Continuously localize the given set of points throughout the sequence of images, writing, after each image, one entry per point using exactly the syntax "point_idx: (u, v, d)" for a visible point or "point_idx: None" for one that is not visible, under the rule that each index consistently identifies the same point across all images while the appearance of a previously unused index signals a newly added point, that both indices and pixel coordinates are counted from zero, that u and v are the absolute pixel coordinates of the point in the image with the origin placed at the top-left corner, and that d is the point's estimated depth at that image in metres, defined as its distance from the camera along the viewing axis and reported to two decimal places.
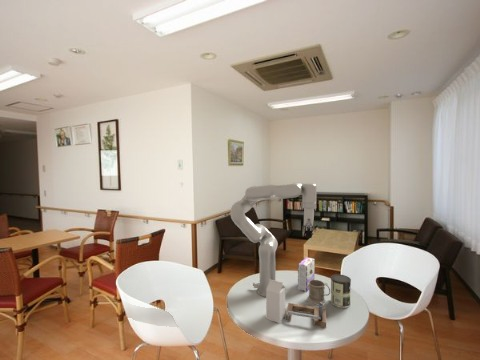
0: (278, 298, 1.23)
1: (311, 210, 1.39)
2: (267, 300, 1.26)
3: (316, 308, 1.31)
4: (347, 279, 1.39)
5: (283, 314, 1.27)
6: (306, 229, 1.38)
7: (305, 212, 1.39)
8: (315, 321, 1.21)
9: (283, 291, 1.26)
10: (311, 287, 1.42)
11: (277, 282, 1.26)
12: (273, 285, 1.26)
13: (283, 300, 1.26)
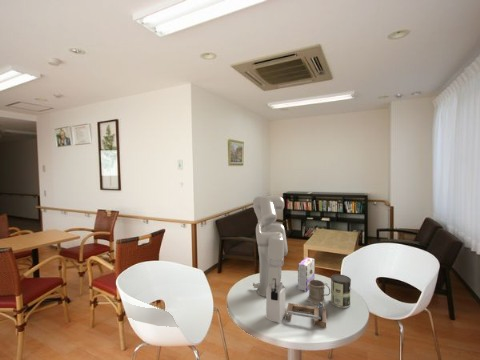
0: (278, 298, 1.23)
1: (277, 269, 1.22)
2: (267, 300, 1.26)
3: (316, 308, 1.31)
4: (347, 279, 1.39)
5: (283, 314, 1.27)
6: (271, 291, 1.22)
7: (270, 270, 1.23)
8: (315, 321, 1.21)
9: (283, 291, 1.26)
10: (311, 287, 1.42)
11: None
12: None
13: (283, 300, 1.26)
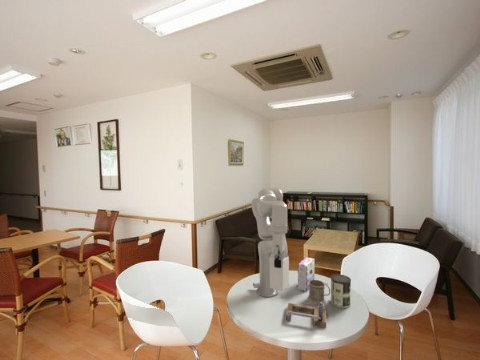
0: (281, 266, 1.20)
1: (280, 235, 1.19)
2: (271, 269, 1.23)
3: (316, 308, 1.31)
4: (347, 279, 1.39)
5: (287, 283, 1.24)
6: (274, 258, 1.19)
7: (273, 237, 1.20)
8: (315, 321, 1.21)
9: (287, 260, 1.24)
10: (311, 287, 1.42)
11: None
12: None
13: (286, 269, 1.24)
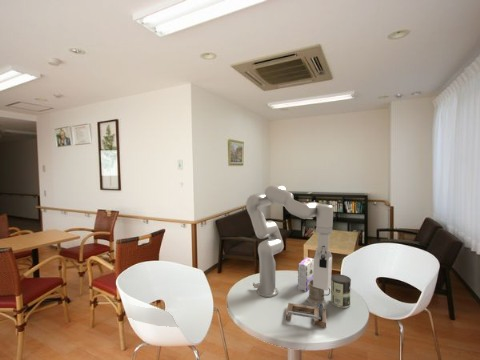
0: (327, 266, 1.22)
1: (326, 236, 1.21)
2: (315, 268, 1.26)
3: (316, 308, 1.31)
4: (347, 279, 1.39)
5: (330, 282, 1.27)
6: (320, 258, 1.22)
7: (319, 238, 1.22)
8: (315, 321, 1.21)
9: (331, 259, 1.26)
10: (311, 287, 1.42)
11: None
12: None
13: (330, 268, 1.26)
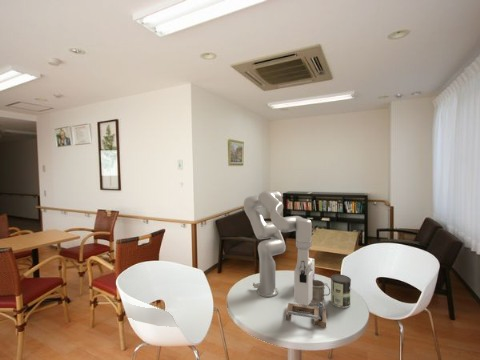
0: (307, 280, 1.22)
1: (305, 251, 1.22)
2: (295, 283, 1.25)
3: (316, 308, 1.31)
4: (347, 279, 1.39)
5: (311, 297, 1.27)
6: (300, 273, 1.22)
7: (299, 253, 1.22)
8: (315, 321, 1.21)
9: (311, 274, 1.26)
10: None
11: None
12: None
13: (311, 283, 1.26)
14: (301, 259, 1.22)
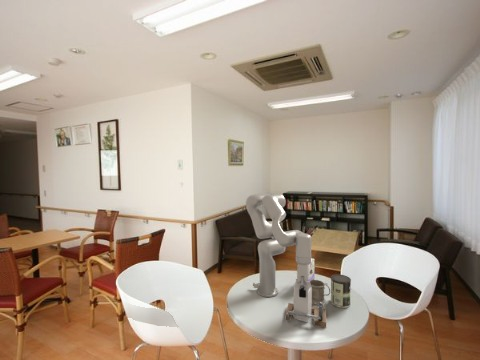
0: (306, 297, 1.23)
1: (305, 266, 1.22)
2: (295, 300, 1.26)
3: (316, 308, 1.31)
4: (347, 279, 1.39)
5: (310, 313, 1.28)
6: None
7: (298, 268, 1.23)
8: (315, 321, 1.21)
9: (310, 290, 1.27)
10: None
11: None
12: None
13: (310, 299, 1.27)
14: (301, 274, 1.22)
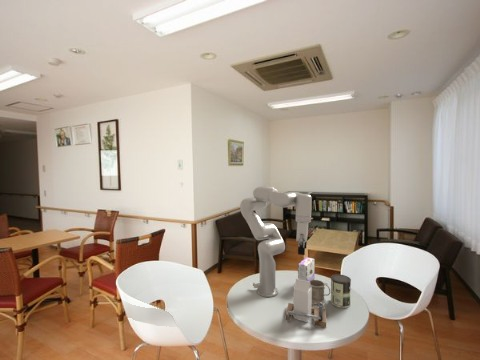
0: (306, 297, 1.23)
1: (305, 224, 1.25)
2: (295, 300, 1.26)
3: (316, 308, 1.31)
4: (347, 279, 1.39)
5: (310, 313, 1.28)
6: None
7: (298, 226, 1.25)
8: (315, 321, 1.21)
9: (310, 290, 1.27)
10: None
11: (304, 281, 1.27)
12: (300, 284, 1.27)
13: (310, 299, 1.27)
14: (300, 232, 1.25)
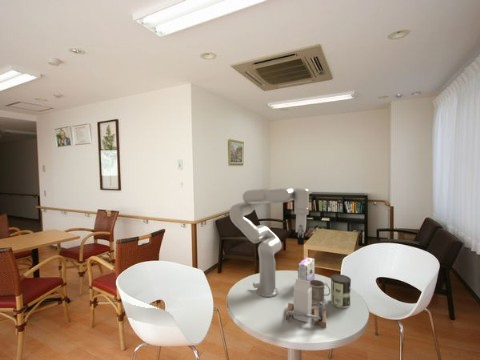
0: (306, 297, 1.23)
1: (303, 216, 1.34)
2: (295, 300, 1.26)
3: (316, 308, 1.31)
4: (347, 279, 1.39)
5: (310, 313, 1.28)
6: (298, 236, 1.34)
7: (297, 218, 1.35)
8: (315, 321, 1.21)
9: (310, 290, 1.27)
10: None
11: (304, 281, 1.27)
12: (300, 284, 1.27)
13: (310, 299, 1.27)
14: (299, 224, 1.34)
